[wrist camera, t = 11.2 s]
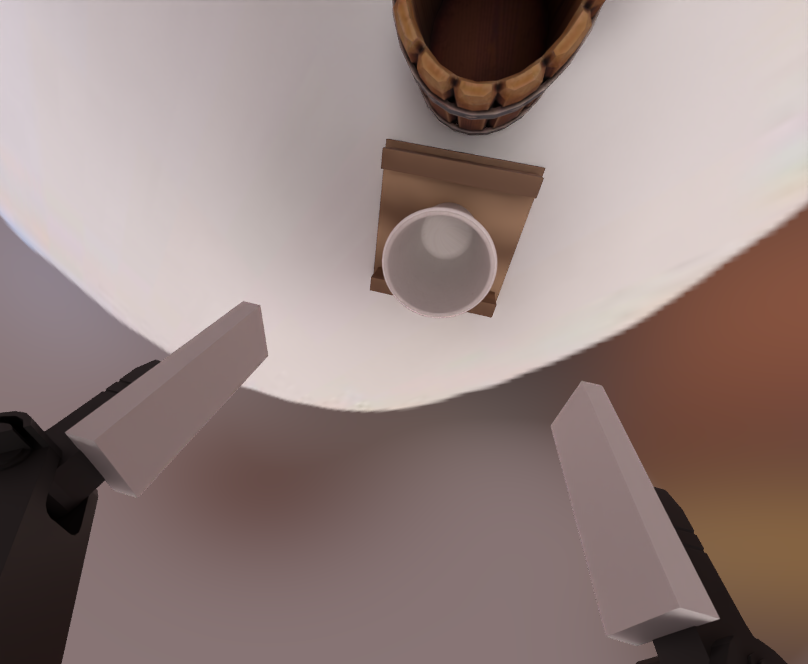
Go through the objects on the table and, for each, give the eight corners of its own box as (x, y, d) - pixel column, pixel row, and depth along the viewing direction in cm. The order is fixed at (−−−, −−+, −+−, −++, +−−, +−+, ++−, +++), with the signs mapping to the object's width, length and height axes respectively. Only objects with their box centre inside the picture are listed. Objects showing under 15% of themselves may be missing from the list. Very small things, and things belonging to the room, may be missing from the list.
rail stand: (388, 138, 27) (377, 139, 24) (543, 167, 26) (553, 171, 23) (374, 279, 35) (365, 293, 32) (492, 305, 34) (494, 322, 31)
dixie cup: (436, 167, 27) (420, 180, 19) (509, 220, 28) (524, 255, 20) (391, 243, 31) (362, 281, 23) (455, 286, 33) (450, 336, 24)
